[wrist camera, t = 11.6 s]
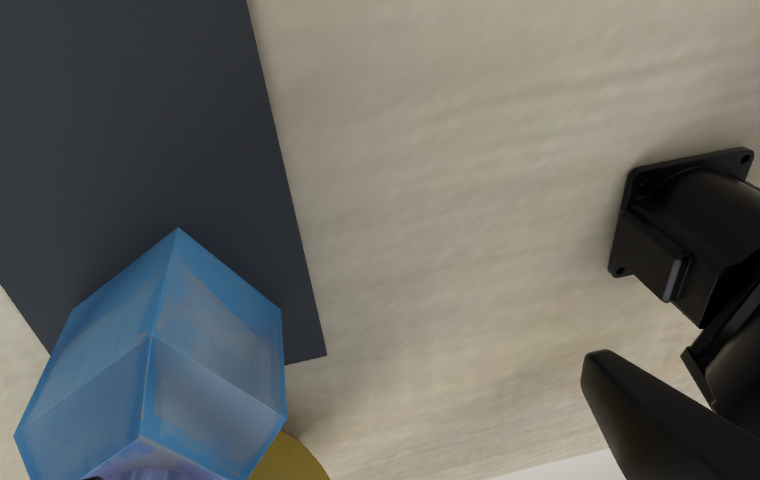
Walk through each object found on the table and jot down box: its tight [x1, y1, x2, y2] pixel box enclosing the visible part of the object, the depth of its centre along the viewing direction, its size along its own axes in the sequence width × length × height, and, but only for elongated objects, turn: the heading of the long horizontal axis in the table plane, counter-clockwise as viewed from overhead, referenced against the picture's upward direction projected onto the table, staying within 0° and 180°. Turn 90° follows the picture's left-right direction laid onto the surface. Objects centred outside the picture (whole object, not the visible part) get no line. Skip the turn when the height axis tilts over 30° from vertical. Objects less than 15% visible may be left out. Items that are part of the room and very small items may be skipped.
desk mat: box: [0, 0, 327, 365], centre depth 19 cm, size 12×20×1 cm, turn 5°
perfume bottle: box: [13, 227, 287, 480], centre depth 17 cm, size 6×6×12 cm
